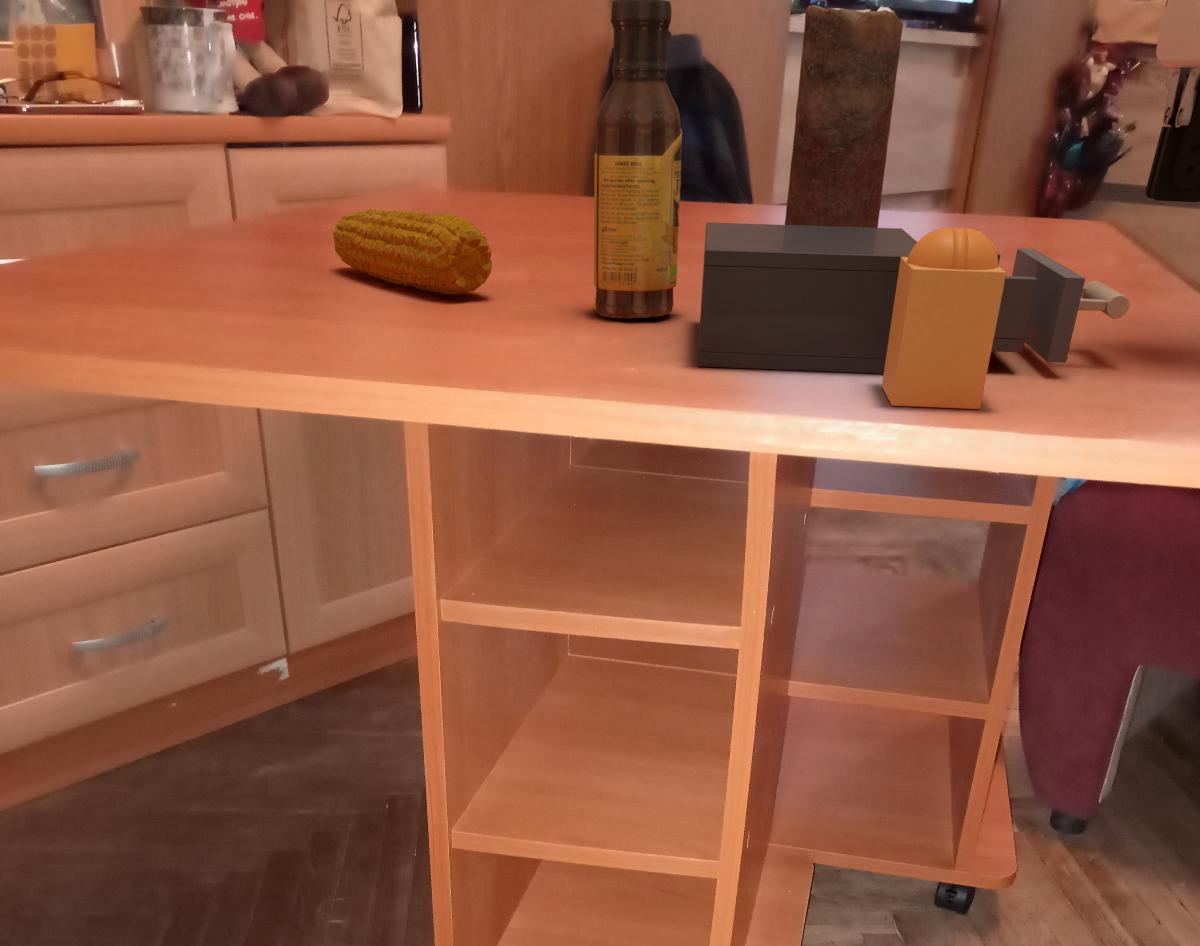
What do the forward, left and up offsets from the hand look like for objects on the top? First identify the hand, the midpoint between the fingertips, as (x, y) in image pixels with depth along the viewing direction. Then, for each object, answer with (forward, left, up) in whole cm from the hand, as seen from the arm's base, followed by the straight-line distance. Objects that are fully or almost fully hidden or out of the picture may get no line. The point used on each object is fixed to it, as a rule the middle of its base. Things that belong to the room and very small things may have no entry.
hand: (1173, 199), depth 74 cm
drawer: (+11, +2, -9) cm, 14 cm away
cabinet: (+23, +2, -10) cm, 25 cm away
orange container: (+16, +15, -10) cm, 24 cm away
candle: (+20, -16, -10) cm, 28 cm away
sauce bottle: (+35, -8, -10) cm, 37 cm away
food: (+55, -18, -10) cm, 59 cm away
